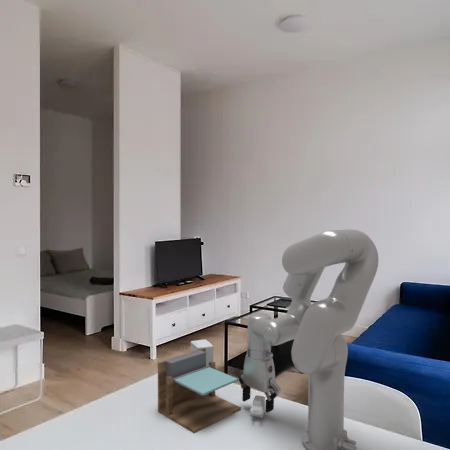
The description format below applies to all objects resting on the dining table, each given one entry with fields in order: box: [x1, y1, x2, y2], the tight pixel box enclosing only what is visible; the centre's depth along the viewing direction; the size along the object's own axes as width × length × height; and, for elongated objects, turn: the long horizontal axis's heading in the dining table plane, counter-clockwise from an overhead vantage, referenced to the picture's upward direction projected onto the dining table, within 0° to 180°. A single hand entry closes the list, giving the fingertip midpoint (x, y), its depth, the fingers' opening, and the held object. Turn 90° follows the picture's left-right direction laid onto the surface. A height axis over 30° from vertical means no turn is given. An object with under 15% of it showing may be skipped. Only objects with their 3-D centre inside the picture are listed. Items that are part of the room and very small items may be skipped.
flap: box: [166, 350, 239, 395], centre depth 129 cm, size 18×16×6 cm
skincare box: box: [189, 338, 214, 366], centre depth 150 cm, size 8×7×16 cm
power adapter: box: [249, 395, 266, 419], centre depth 125 cm, size 10×4×5 cm, turn 165°
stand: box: [157, 348, 242, 434], centre depth 130 cm, size 18×20×16 cm
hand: (257, 405), depth 128 cm, fingers open, 9 cm apart
